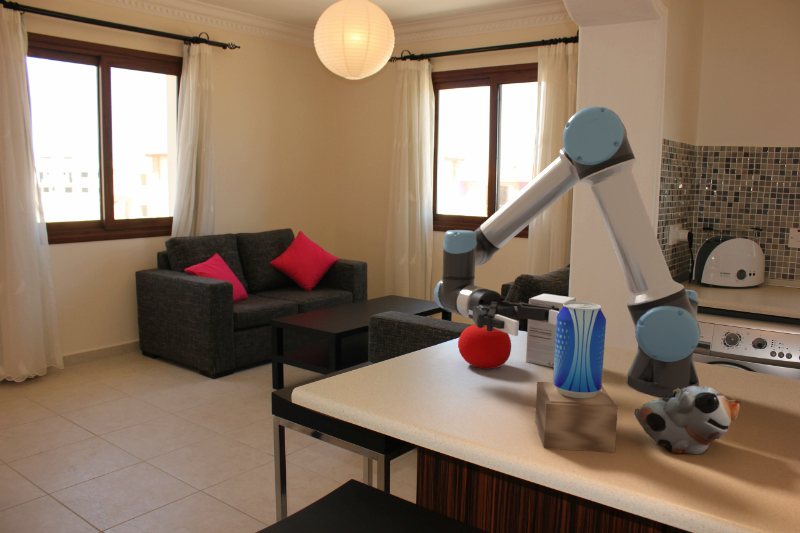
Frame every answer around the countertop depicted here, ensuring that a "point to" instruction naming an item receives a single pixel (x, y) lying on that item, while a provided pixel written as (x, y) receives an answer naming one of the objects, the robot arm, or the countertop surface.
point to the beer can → (579, 350)
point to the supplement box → (543, 331)
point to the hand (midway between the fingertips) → (545, 325)
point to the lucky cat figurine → (688, 419)
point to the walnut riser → (575, 420)
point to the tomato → (484, 346)
